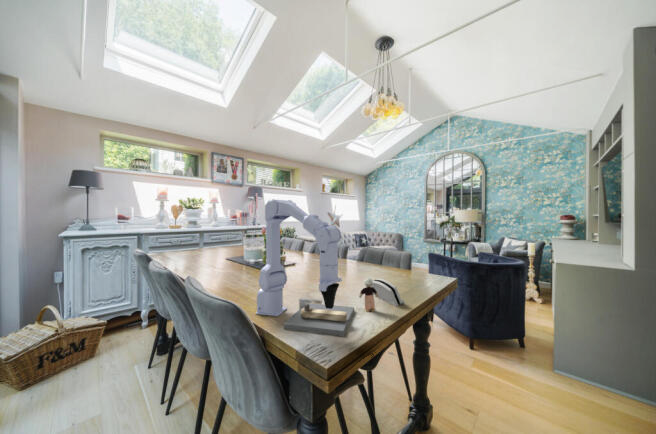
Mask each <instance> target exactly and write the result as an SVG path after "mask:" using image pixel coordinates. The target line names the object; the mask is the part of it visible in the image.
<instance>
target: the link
mask: <svg viewBox="0 0 656 434" xmlns="http://www.w3.org/2000/svg"><path fill="white" fill-rule="evenodd" d="M301 317H302V318H316V319H326V320H335V321H346V319H347V312H342V311H331V310H321V309H312V308H310V305H309V304H305V305H304V308H303V309H301Z"/></svg>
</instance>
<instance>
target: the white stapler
mask: <svg viewBox="0 0 656 434" xmlns="http://www.w3.org/2000/svg"><path fill="white" fill-rule="evenodd" d="M372 281H373V283H372V285H371V287H373V288H374V289H375V290H376V291H377V293H378V295H379V297H377V298H378V299H380V300H382V301H384V302H386V303H388V304H390V305H392V306H393V307H398V306H399V305H404V306H405V305H406V302H405V300H404V299H402V298H401V296H400V293H399V290H398V288H397V287H396V286H395V285H394V284H392V283H391V282H389V281H387V280H385V279H382V278H376V279H374V280H372ZM374 295H375V293H373V296H374ZM374 297H376V295H375V296H374Z"/></svg>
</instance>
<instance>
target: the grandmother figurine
mask: <svg viewBox="0 0 656 434" xmlns="http://www.w3.org/2000/svg"><path fill="white" fill-rule="evenodd" d="M373 281H374V280H373V279H372V278H371V277H367V278H365V279H364V280H363V283H364V284H363V285H365V287H364V288H362V289H361V290H360V293H359V295H358V297H359V298H360V299H361V298H362V296H364V308H363V309H364V311H365V312H367V313H369V312H370V311H371V312H376V307H375V297H376V298H378V297H379V295H378V293H377V291H376V290H375V289H374V288H373V287H371V285H372V283H373ZM373 293H375V295H376V296H374V295H373Z"/></svg>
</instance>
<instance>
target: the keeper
mask: <svg viewBox="0 0 656 434" xmlns="http://www.w3.org/2000/svg"><path fill="white" fill-rule="evenodd" d="M298 302H299V303H298V305H299V308H298V310H300V311H301V309H303V308H304V305H305V304H306V303H311V304H323V299H321V298H307V297H300V298H299V301H298Z"/></svg>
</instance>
